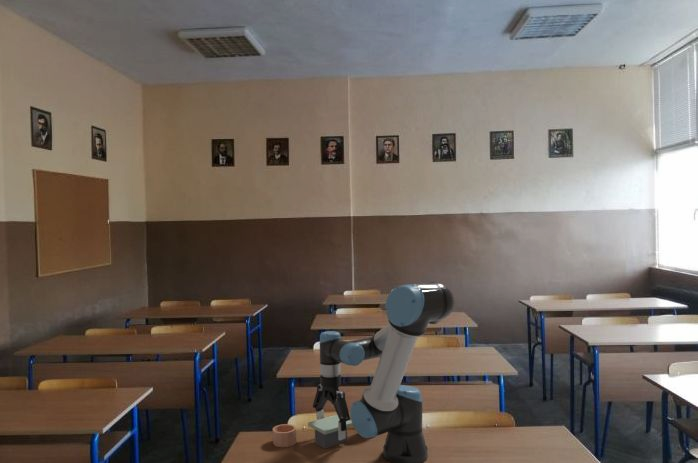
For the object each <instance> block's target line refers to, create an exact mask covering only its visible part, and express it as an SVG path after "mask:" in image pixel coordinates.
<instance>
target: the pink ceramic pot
mask: <svg viewBox="0 0 698 463" xmlns="http://www.w3.org/2000/svg"><path fill="white" fill-rule="evenodd" d="M296 443H297V426H295V425H294V424H290V423H289V424H288V423H284V424H282V423H281V424H279V425H275V426H274V427H272V445H273V444H274V445H273V446H275V447H279V448H289V447H292V446H294V445H295V444H296Z"/></svg>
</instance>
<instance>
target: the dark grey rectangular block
mask: <svg viewBox="0 0 698 463" xmlns="http://www.w3.org/2000/svg"><path fill="white" fill-rule="evenodd" d="M346 442H348V428H346V439H343V440H340V441H339V440H338V431H335V432H332V433H329V434H326V435H325V434H323V433H321V432H319V431H317V430H315V429H314V444H315V445H318V447H321V448H323V449H328V448H331V447H334V446H337V445H340V444H343V443H346Z"/></svg>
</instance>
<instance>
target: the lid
mask: <svg viewBox="0 0 698 463" xmlns="http://www.w3.org/2000/svg"><path fill="white" fill-rule="evenodd" d="M338 421H340V420H339V417H338V415H337V414H334V415H331V416H327V417H326V416H325V417H324V418H322V419H319V420H317V419H316V420H312V421H309V422H307V427H309V428H311V429H313V430H314V431H315V430H317V431H319V432H321V433H323V434H325V435H326V434H329V433H332V432H335V431H338ZM350 427H354V426H353V424H352V421H351V419H350V420H348V421H346V428H347V429H348V428H350Z"/></svg>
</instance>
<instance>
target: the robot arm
mask: <svg viewBox="0 0 698 463" xmlns="http://www.w3.org/2000/svg"><path fill="white" fill-rule="evenodd" d="M454 298H455V297H454V294H453V292H452V291H451V290H450V288H449V287H448V286H446V285H445V284H443V283H440V282H436V281H435V282H433V281H431V282H425V283H424V282H423V283H406V284H402V285H398V286H396V287H395V288H393V289H392V290H391V291H390V292H389V293H388V296H387V298H386V300H385V305H384V307H385V309H386V311H385V315H386V317H387V319H388V321H387V322H388V324H387V325H385V327H383V328H382V329H380V330H379V331H377V332H376V333H375V334H373V335H372V336H370V337H365V338H361V339H359V338H358V339H354V340H348V341H347V340H344V339H343V340H342V339H341V333H340V332H339V331H334V330H326V331H323V332H321V333H320V335H319V374H320V376H319V378H320V379H319V382H320V383H319V384H317V385H316V393H315V395H314V399H313V403H312V409H315V411H316V420H319V419H322V418H325V409H324V407H325V405H326V404H327V401H329V402H331V404H332V405H333V408H334V409H335V412H336V415H338V417H339V420H340V421H338V440H339V441H340V440H343V439H346V421H348V420H350V421H352V424H353V426H352V427H353V428H354V429H355V432H357V434H358V435H359V436H360V437H362V438H364V439H370V438H371V439H372V438H375V437H378V436H380V435H384V434H386V433H387V435H386V438H385V441H384V442H385V443H384V445H383V448H382V449H383V450H382V451H383V452H382V453H383V455H382V456H383V457H384V458H385V459H386V460H387V461H389V462H391V463H423V462H425V461H426V460H427V459H428V457H429V451H428V449H429V448H428V446H427V445H426V440H425V437H424V433H423V399H422V398H423V397H422V392H421V390H420V389H419V388H417V387H414V386H410V385H407V384H406V385H405V384H401V383H402V380H403V378H404V376H405V373H406V370H407V368H408V364H409V362H410V359H411V356H412V354H413V351H414V349H415V345H416V344H417V341H418V338H419V337H423V336H424V335H425V333H426V332H427V331H426V330H427V328H428V326H429V325H432V326H433V325H436V324H438V323H439V322H441V321H443V320H444V319H446V318H447V317H449V316H450V315H451V313H452V312H453V310H454V307H455V299H454ZM377 358H379V360H378V361H379V362H378V363H377V367H376V370H375V372H374V376H373V378H372V380H371V384H370V385H368V386H367V387H366V388H365V389H364V391H363V392H362V395H361V398H360V400H355V401H354V402H353V403H352V404H351V405H350V409H349V407H348V404H347V400H346V392H345V391H340V389H339V387H340V386H341V384H342V382H341V381H342V378H341V364H345V365H347V366H353V367H355V366H356V367H357V366H359V365H360V364H361V363H363V362H364V361H367V360H373V359H377Z"/></svg>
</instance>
